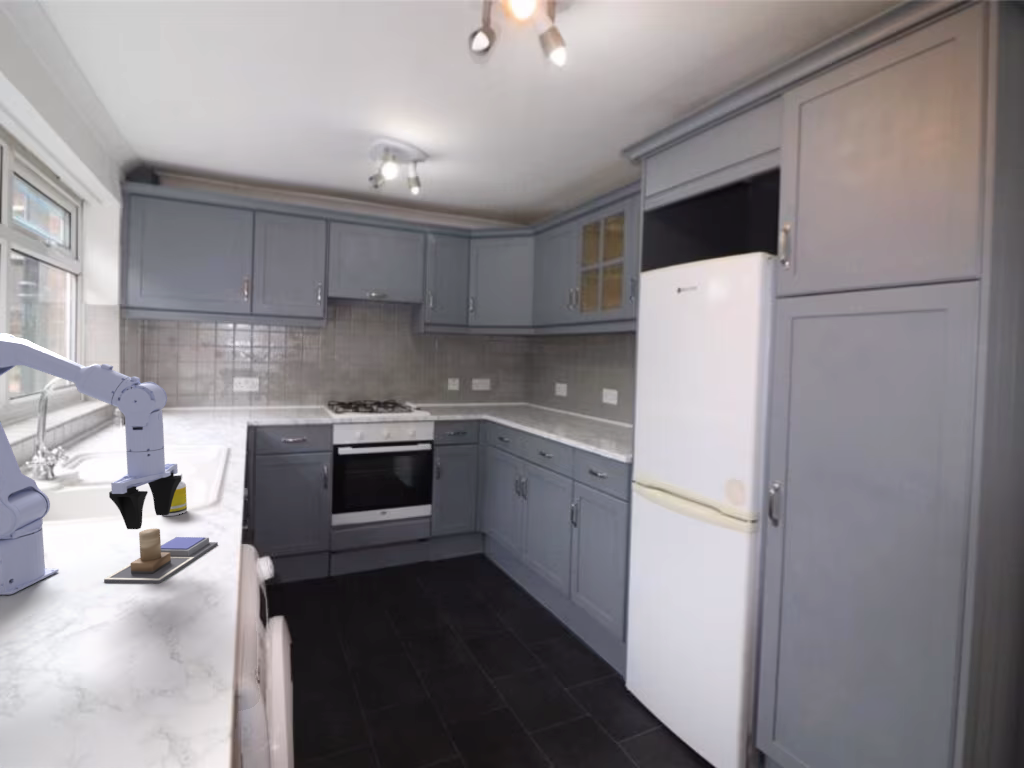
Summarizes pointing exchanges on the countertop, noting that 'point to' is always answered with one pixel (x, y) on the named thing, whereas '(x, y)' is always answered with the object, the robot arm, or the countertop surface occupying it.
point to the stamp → (150, 553)
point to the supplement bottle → (179, 499)
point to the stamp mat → (181, 555)
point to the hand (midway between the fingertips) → (148, 521)
